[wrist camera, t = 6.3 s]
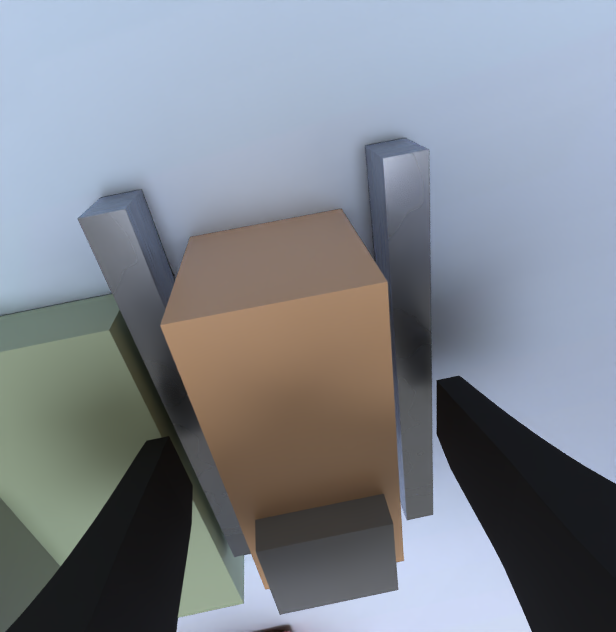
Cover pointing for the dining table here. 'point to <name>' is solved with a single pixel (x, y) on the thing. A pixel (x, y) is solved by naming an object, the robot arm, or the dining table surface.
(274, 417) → the orange wooden block
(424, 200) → the pair of grey bars
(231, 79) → the dining table surface
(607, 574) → the robot arm
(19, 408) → the deck
